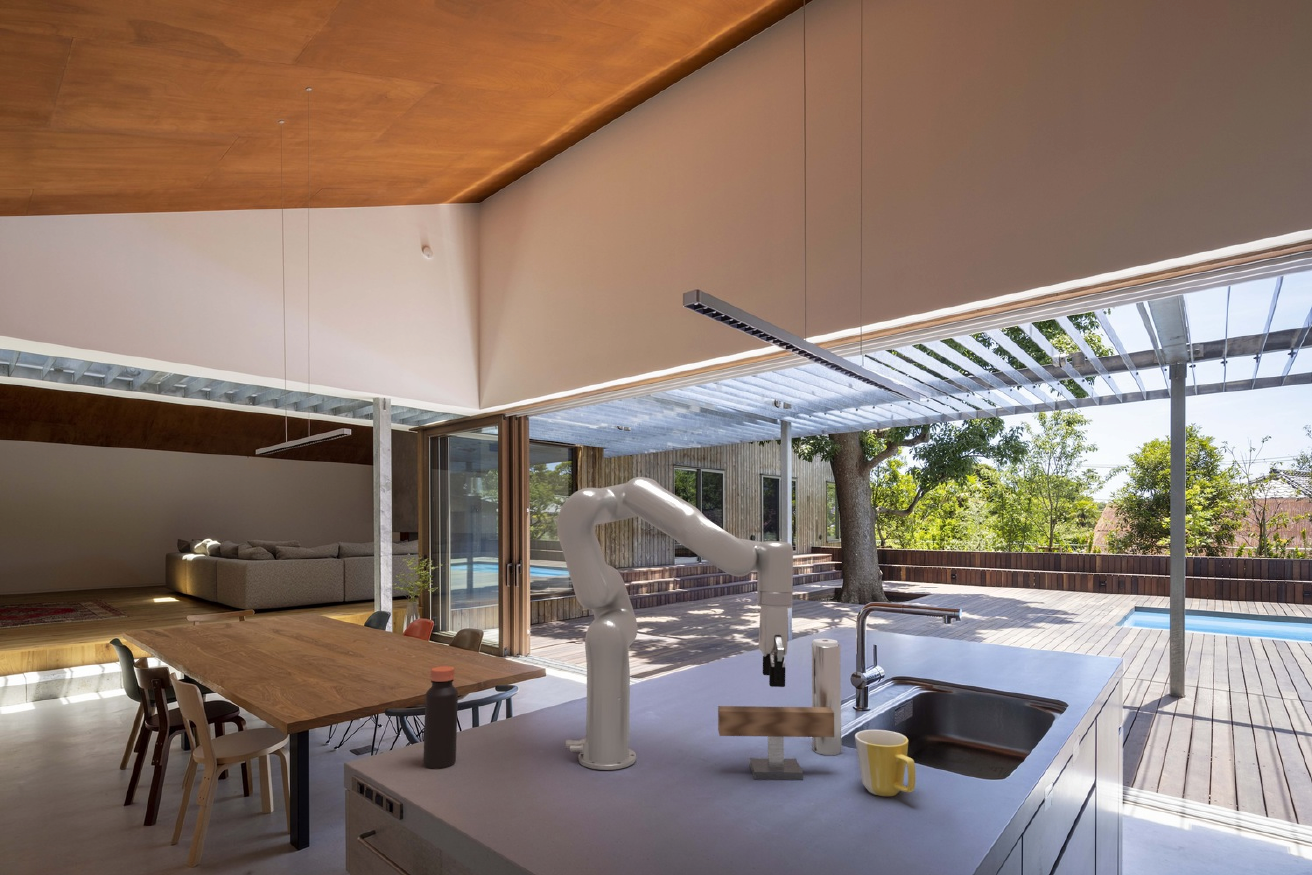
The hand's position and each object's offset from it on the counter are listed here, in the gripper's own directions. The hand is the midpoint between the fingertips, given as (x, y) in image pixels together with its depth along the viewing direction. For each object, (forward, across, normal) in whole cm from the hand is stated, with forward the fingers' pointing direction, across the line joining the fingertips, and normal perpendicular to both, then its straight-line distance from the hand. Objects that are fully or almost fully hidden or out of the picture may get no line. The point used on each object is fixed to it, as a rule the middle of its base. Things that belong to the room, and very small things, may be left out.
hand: (773, 680), depth 157 cm
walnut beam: (+11, 0, +1) cm, 11 cm away
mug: (+19, +11, +21) cm, 30 cm away
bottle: (+20, -3, -71) cm, 74 cm away
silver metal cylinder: (+19, -14, +15) cm, 28 cm away
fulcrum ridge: (+19, 0, +1) cm, 19 cm away
